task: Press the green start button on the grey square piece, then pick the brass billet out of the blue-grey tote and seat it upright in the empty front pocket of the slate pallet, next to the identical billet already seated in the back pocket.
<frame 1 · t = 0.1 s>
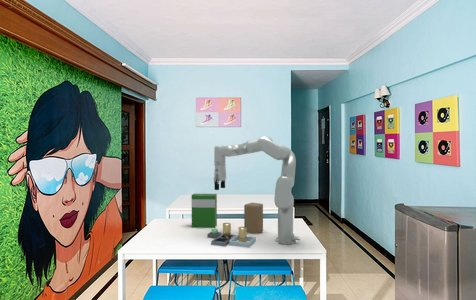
hand: (219, 188, 211), 31 cm above the table, fingers open, 9 cm apart
grey square piece: (214, 238, 203), on the table
hardback book: (204, 226, 232), on the table
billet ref: (226, 239, 196), point 1 cm above the table, touching pallet
wooden block: (253, 233, 215), on the table
tote: (242, 244, 189), on the table
billet: (242, 243, 189), resting on tote
pallet: (224, 242, 193), on the table
button: (214, 231, 203), point 4 cm above the table, slide at 0.0 cm
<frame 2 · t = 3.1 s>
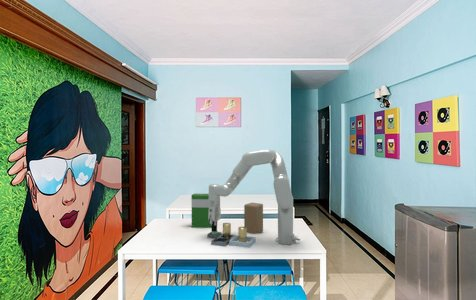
hand: (214, 231, 203), 5 cm above the table, fingers closed
button: (214, 233, 203), point 3 cm above the table, slide at 1.1 cm, touching gripper
everything else where it was.
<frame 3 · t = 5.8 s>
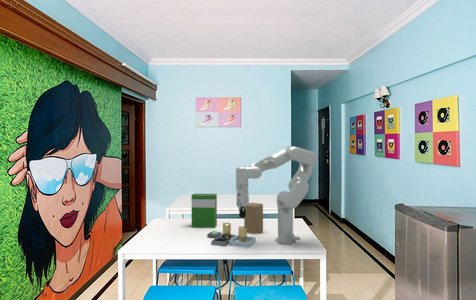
hand: (242, 217, 189), 17 cm above the table, fingers closed
button: (214, 234, 203), point 3 cm above the table, slide at 1.5 cm
everything else where it was.
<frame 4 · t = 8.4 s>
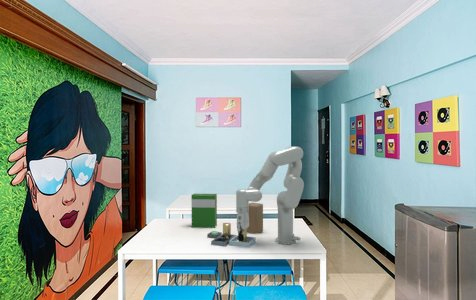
hand: (242, 239, 189), 3 cm above the table, fingers closed on billet, 5 cm apart
billet: (242, 243, 189), resting on tote, touching gripper
everything else where it was.
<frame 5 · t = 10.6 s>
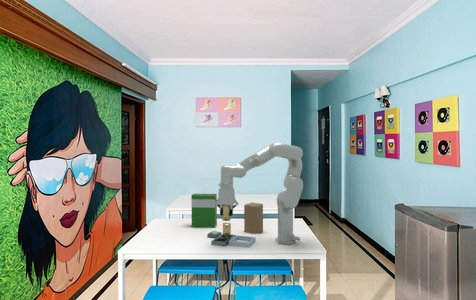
hand: (226, 215, 189), 18 cm above the table, fingers closed on billet, 5 cm apart
billet: (226, 220, 189), point 15 cm above the table, touching gripper
everything else where it was.
when the fingers open (5 cm above the table, at t = 13.0 s): billet drops 1 cm, resting on pallet.
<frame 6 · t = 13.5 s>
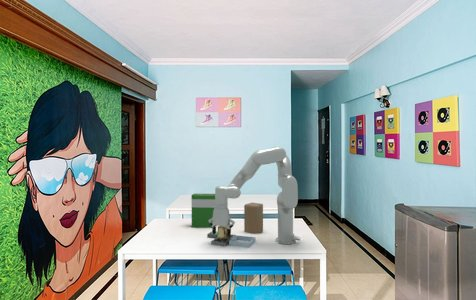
hand: (221, 234, 189), 6 cm above the table, fingers open, 9 cm apart
billet: (221, 243, 189), point 1 cm above the table, touching pallet
everything else where it was.
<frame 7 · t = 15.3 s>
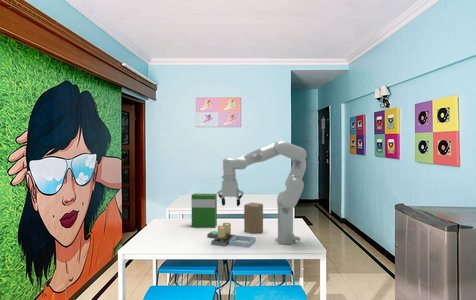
hand: (230, 205, 192), 23 cm above the table, fingers open, 9 cm apart
nothing on the table moved.
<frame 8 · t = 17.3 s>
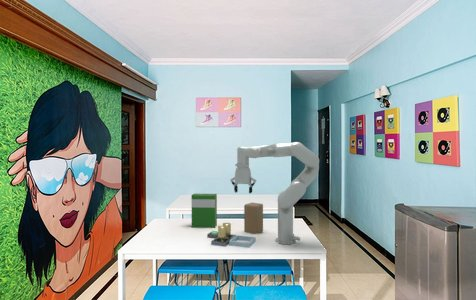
hand: (243, 192, 198), 30 cm above the table, fingers open, 9 cm apart
nothing on the table moved.
at the end: billet 0.2 cm from the target spot on the pallet, point 1.1 cm above the pallet's base; billet tilted 2°; button slide at 1.5 cm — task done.
